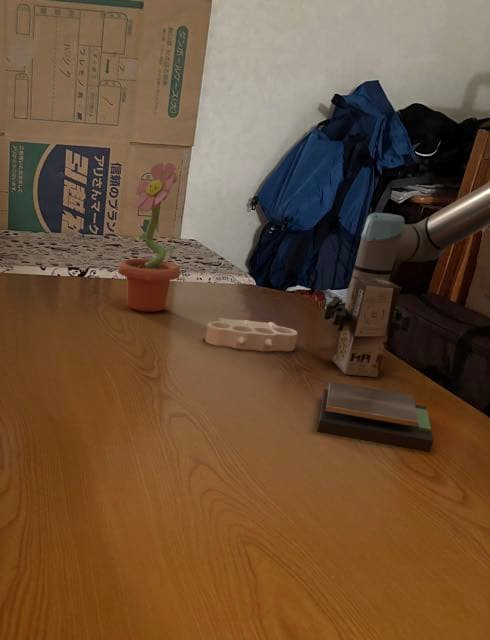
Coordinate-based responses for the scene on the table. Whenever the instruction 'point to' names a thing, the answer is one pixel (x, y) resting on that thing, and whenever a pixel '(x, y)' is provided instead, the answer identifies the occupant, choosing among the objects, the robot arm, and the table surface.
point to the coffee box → (366, 325)
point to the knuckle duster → (250, 335)
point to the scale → (378, 428)
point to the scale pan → (371, 404)
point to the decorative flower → (151, 274)
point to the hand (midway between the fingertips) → (367, 326)
